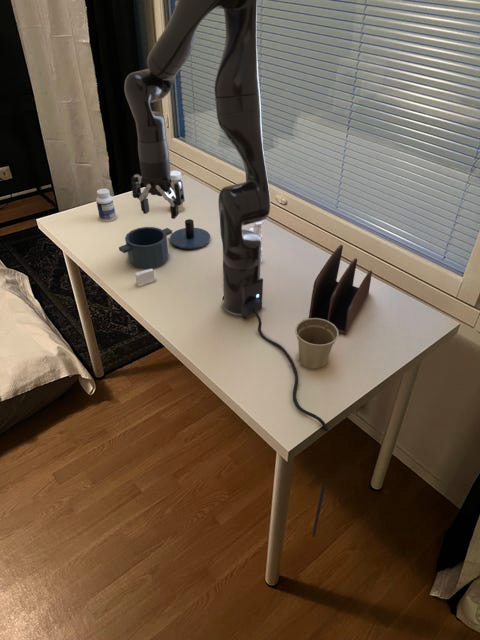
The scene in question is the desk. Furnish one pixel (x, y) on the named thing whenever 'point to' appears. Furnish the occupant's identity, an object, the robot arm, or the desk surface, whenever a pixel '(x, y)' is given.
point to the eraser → (144, 277)
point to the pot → (146, 247)
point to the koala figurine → (257, 230)
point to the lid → (190, 236)
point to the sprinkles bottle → (176, 177)
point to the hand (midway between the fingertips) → (160, 215)
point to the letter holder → (338, 294)
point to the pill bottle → (105, 205)
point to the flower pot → (315, 341)
